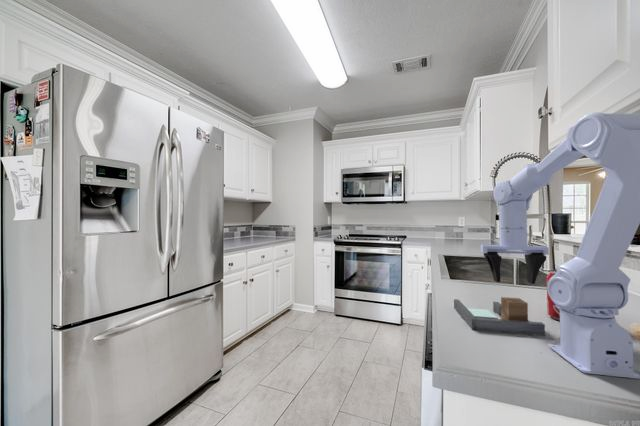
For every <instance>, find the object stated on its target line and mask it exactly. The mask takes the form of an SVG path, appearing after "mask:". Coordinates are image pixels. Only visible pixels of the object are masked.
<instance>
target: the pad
mask: <svg viewBox="0 0 640 426" xmlns="http://www.w3.org/2000/svg"><path fill="white" fill-rule="evenodd" d="M466 308H467V309H468V310H469V311H470V312H471V313H472V314H473V315H474V316H475V317H476V318H489V319H498V317H497V316H496V315H495V314H494V313H492V312H491V310H489V309H484V308H483V309H482V308H481V309H480V308H468V307H466Z"/></svg>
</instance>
